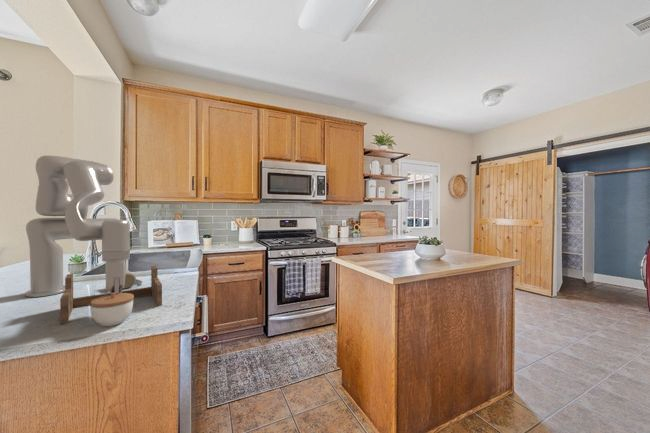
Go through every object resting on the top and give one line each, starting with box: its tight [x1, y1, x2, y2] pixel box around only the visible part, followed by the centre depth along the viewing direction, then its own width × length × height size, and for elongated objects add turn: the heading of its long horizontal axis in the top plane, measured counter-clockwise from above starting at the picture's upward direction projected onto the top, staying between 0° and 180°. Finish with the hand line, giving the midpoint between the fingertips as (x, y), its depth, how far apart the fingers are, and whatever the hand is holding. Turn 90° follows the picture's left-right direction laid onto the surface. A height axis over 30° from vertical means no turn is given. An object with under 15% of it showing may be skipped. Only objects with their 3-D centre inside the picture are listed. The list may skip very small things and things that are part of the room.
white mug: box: [123, 269, 143, 290], centre depth 121 cm, size 11×8×8 cm
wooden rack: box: [59, 265, 163, 325], centre depth 97 cm, size 18×27×12 cm, turn 130°
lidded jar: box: [90, 292, 135, 327], centre depth 84 cm, size 11×11×9 cm
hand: (116, 308), depth 91 cm, fingers closed
